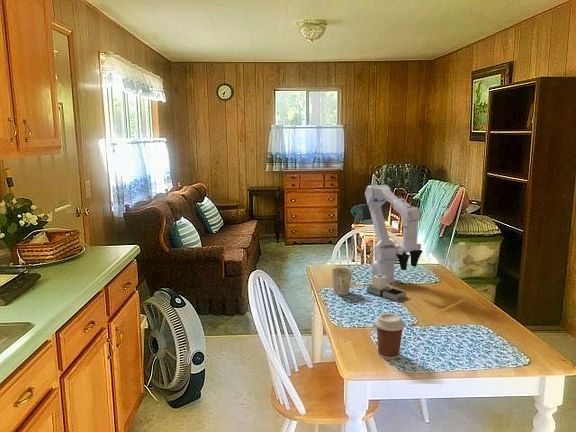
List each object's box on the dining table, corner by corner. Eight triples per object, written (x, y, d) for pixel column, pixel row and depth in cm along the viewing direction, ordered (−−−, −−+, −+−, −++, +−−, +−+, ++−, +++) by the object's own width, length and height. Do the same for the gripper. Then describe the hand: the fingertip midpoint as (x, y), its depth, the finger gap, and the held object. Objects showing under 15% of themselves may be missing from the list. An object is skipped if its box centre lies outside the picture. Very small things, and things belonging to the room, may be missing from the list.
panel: (365, 293, 203) (365, 287, 202) (377, 289, 209) (377, 282, 208) (395, 303, 192) (395, 296, 191) (407, 298, 198) (408, 291, 197)
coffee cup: (399, 347, 154) (400, 311, 151) (407, 361, 145) (408, 323, 142) (370, 347, 153) (372, 311, 151) (376, 361, 144) (378, 323, 142)
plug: (372, 292, 203) (372, 274, 202) (378, 290, 206) (378, 272, 204) (380, 294, 200) (380, 276, 199) (385, 292, 203) (386, 274, 201)
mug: (351, 290, 207) (351, 268, 205) (352, 300, 195) (352, 277, 193) (331, 289, 208) (331, 267, 206) (331, 300, 195) (331, 276, 194)
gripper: (408, 240, 193) (407, 273, 196) (428, 235, 203) (426, 266, 206) (393, 238, 198) (392, 269, 201) (413, 232, 208) (412, 263, 211)
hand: (408, 268), depth 204 cm, fingers open, 7 cm apart
